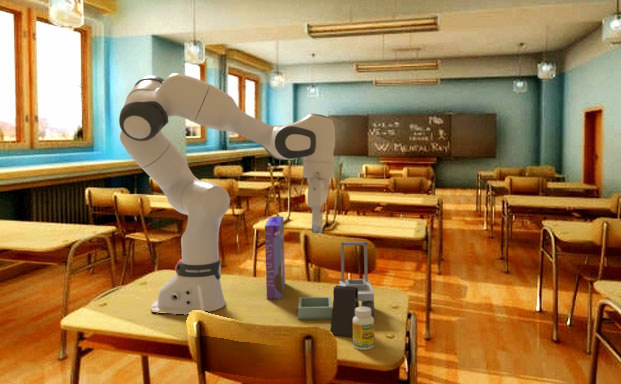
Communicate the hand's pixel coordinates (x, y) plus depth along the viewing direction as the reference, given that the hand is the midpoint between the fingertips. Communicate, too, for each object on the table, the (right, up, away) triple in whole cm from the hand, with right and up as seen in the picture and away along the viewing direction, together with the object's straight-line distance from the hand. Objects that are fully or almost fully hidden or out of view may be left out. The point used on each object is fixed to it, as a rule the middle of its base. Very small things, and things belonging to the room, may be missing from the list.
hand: (317, 220), depth 155 cm
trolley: (+11, -28, +3) cm, 30 cm away
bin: (-1, -28, +4) cm, 28 cm away
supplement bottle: (+11, -31, -20) cm, 38 cm away
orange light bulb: (0, -4, 0) cm, 4 cm away
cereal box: (-13, -25, +27) cm, 39 cm away
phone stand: (+8, -29, -10) cm, 32 cm away
